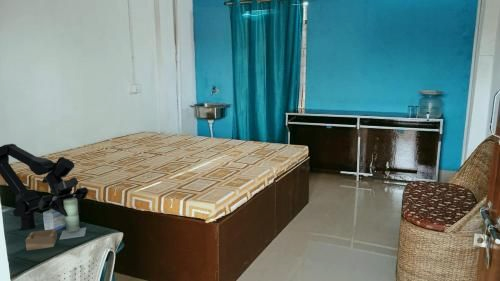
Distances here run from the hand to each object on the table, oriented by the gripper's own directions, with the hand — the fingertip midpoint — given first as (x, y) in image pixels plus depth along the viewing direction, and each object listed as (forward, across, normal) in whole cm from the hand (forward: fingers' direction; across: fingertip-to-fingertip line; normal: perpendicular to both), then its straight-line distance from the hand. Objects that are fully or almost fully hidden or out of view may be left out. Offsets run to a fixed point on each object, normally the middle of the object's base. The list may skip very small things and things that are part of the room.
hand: (73, 214), depth 148 cm
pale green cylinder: (+4, 0, +6) cm, 7 cm away
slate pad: (+5, 0, +7) cm, 9 cm away
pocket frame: (+5, -12, +7) cm, 15 cm away
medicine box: (-4, -1, +16) cm, 17 cm away
